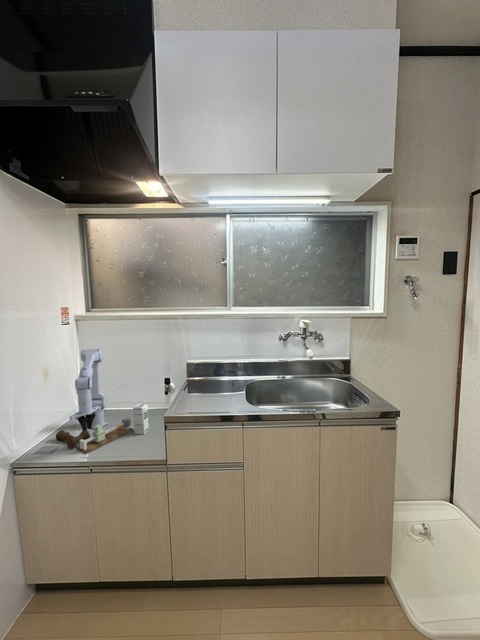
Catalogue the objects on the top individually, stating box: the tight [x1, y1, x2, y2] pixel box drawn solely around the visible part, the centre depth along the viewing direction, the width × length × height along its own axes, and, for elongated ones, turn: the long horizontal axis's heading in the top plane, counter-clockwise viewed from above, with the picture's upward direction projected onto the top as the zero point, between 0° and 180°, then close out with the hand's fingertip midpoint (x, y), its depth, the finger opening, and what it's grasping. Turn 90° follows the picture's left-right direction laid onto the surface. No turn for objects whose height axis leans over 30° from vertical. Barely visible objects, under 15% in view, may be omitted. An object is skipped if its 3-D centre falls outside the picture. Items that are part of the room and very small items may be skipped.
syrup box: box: [132, 403, 150, 435], centre depth 167 cm, size 6×6×14 cm
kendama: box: [55, 429, 91, 450], centre depth 156 cm, size 6×10×20 cm
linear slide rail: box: [79, 417, 132, 450], centre depth 160 cm, size 27×4×5 cm, turn 149°
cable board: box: [75, 426, 134, 454], centre depth 159 cm, size 27×8×1 cm, turn 149°
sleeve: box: [92, 424, 106, 442], centre depth 155 cm, size 4×4×7 cm
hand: (87, 429), depth 150 cm, fingers closed
